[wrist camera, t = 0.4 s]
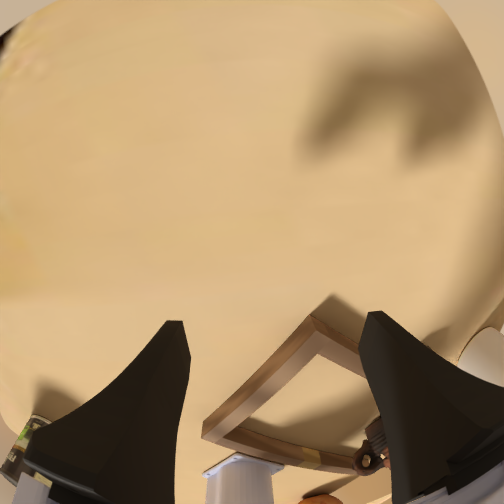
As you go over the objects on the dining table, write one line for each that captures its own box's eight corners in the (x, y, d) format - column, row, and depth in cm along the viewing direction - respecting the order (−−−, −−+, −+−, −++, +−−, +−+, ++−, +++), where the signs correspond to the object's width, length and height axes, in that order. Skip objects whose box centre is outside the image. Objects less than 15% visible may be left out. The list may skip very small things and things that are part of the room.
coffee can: (27, 422, 28) (-3, 473, 15) (35, 407, 27) (-1, 468, 13) (71, 456, 31) (49, 509, 17) (87, 446, 29) (62, 511, 15)
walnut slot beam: (360, 464, 31) (364, 475, 29) (203, 421, 26) (201, 438, 23) (445, 396, 27) (453, 406, 25) (309, 314, 22) (316, 330, 19)
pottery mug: (416, 387, 26) (451, 430, 21) (400, 403, 33) (427, 438, 27) (338, 446, 25) (372, 494, 19) (335, 449, 31) (362, 488, 25)
